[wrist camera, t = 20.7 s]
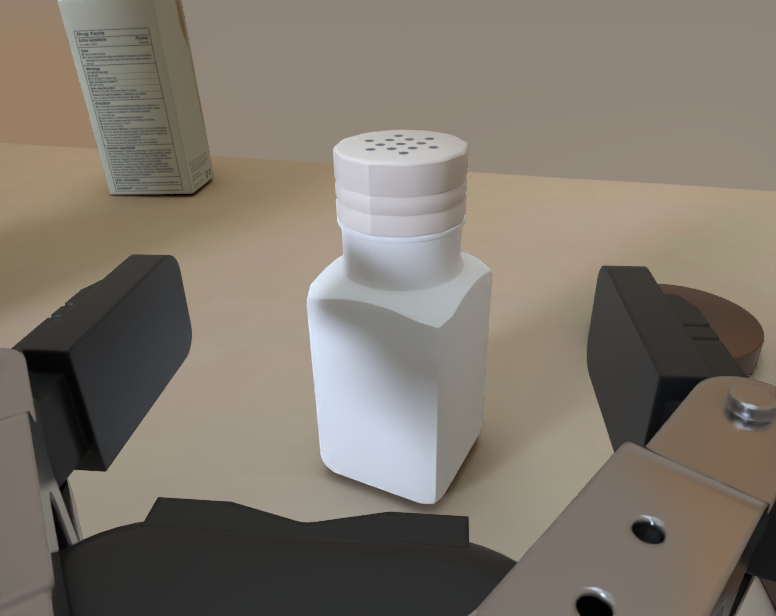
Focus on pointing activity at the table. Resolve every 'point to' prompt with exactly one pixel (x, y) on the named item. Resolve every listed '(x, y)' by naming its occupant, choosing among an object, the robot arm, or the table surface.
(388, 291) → the salt shaker
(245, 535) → the robot arm
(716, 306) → the wooden spoon
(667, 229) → the table surface
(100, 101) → the cosmetic box
